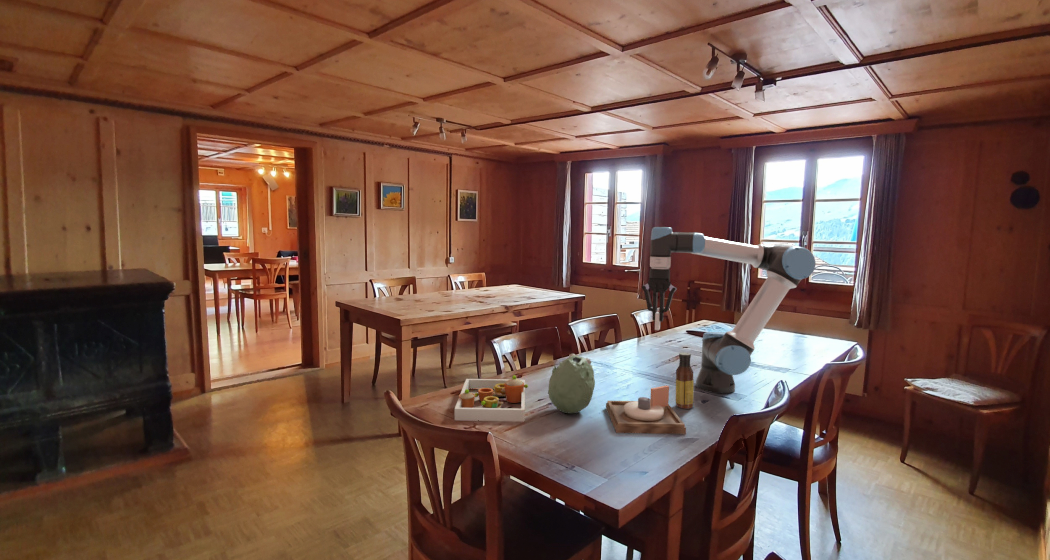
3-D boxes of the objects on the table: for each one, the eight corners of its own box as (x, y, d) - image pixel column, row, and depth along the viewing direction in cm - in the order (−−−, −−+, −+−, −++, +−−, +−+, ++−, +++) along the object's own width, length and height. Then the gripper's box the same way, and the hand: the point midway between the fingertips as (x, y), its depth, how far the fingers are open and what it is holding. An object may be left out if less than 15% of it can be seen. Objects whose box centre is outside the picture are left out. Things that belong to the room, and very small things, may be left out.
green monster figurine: (538, 415, 176) (539, 358, 174) (562, 399, 192) (564, 347, 190) (580, 425, 168) (581, 365, 166) (601, 408, 184) (603, 353, 182)
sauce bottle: (693, 405, 189) (695, 352, 187) (692, 410, 183) (695, 356, 181) (674, 402, 191) (677, 350, 189) (673, 408, 185) (676, 354, 183)
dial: (643, 423, 164) (644, 399, 163) (616, 410, 175) (616, 388, 174) (681, 413, 173) (682, 391, 172) (653, 402, 184) (654, 380, 183)
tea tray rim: (524, 389, 204) (524, 379, 203) (524, 421, 170) (524, 409, 170) (466, 388, 204) (466, 378, 203) (454, 420, 170) (454, 408, 170)
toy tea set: (502, 390, 202) (502, 366, 201) (531, 399, 191) (532, 374, 190) (451, 407, 182) (451, 381, 181) (481, 418, 172) (481, 390, 171)
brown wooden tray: (666, 409, 184) (667, 401, 184) (685, 434, 162) (686, 424, 162) (605, 408, 184) (606, 400, 184) (616, 432, 162) (617, 423, 162)
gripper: (640, 267, 192) (638, 329, 195) (675, 269, 186) (672, 333, 189) (645, 266, 199) (642, 326, 201) (679, 268, 193) (676, 329, 195)
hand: (657, 329), depth 195 cm, fingers closed
